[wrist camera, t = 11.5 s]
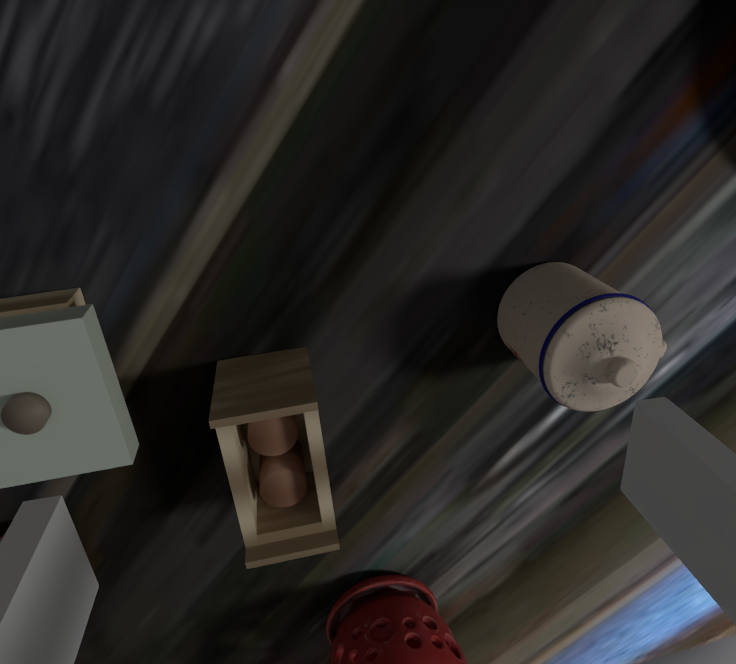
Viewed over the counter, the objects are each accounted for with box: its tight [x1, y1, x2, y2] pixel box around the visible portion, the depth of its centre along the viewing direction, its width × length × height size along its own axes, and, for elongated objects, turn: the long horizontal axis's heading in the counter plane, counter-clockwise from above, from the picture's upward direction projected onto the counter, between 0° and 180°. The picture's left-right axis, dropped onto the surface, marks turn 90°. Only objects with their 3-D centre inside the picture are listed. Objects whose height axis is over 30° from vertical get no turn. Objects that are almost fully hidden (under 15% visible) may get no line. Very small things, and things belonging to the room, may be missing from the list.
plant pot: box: [326, 575, 467, 664], centre depth 52 cm, size 13×13×12 cm
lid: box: [0, 304, 139, 488], centre depth 36 cm, size 11×10×3 cm
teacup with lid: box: [497, 262, 667, 411], centre depth 41 cm, size 12×9×12 cm
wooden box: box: [209, 347, 340, 569], centre depth 42 cm, size 13×7×8 cm, turn 5°
